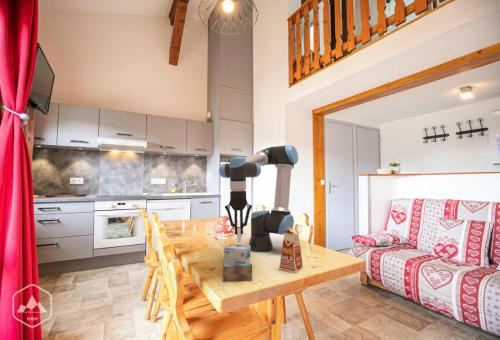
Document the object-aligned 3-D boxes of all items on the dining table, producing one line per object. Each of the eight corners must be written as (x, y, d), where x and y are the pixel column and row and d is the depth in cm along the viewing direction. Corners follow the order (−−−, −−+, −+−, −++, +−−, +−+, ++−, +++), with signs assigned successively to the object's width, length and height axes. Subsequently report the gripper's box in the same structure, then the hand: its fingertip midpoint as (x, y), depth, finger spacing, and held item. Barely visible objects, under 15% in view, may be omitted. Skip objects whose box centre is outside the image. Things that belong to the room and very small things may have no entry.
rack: (246, 259, 133) (246, 246, 133) (252, 280, 104) (252, 264, 105) (224, 260, 132) (224, 247, 132) (223, 281, 103) (223, 265, 103)
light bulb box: (251, 269, 113) (250, 245, 113) (246, 274, 106) (246, 248, 107) (229, 266, 116) (229, 243, 117) (223, 271, 110) (223, 246, 110)
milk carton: (296, 273, 112) (296, 228, 113) (278, 269, 117) (277, 227, 118) (303, 267, 120) (303, 225, 121) (286, 264, 125) (285, 224, 125)
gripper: (251, 189, 119) (252, 238, 119) (224, 190, 118) (224, 240, 118) (252, 190, 112) (253, 242, 111) (224, 191, 111) (224, 244, 110)
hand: (239, 241), depth 114 cm, fingers closed
